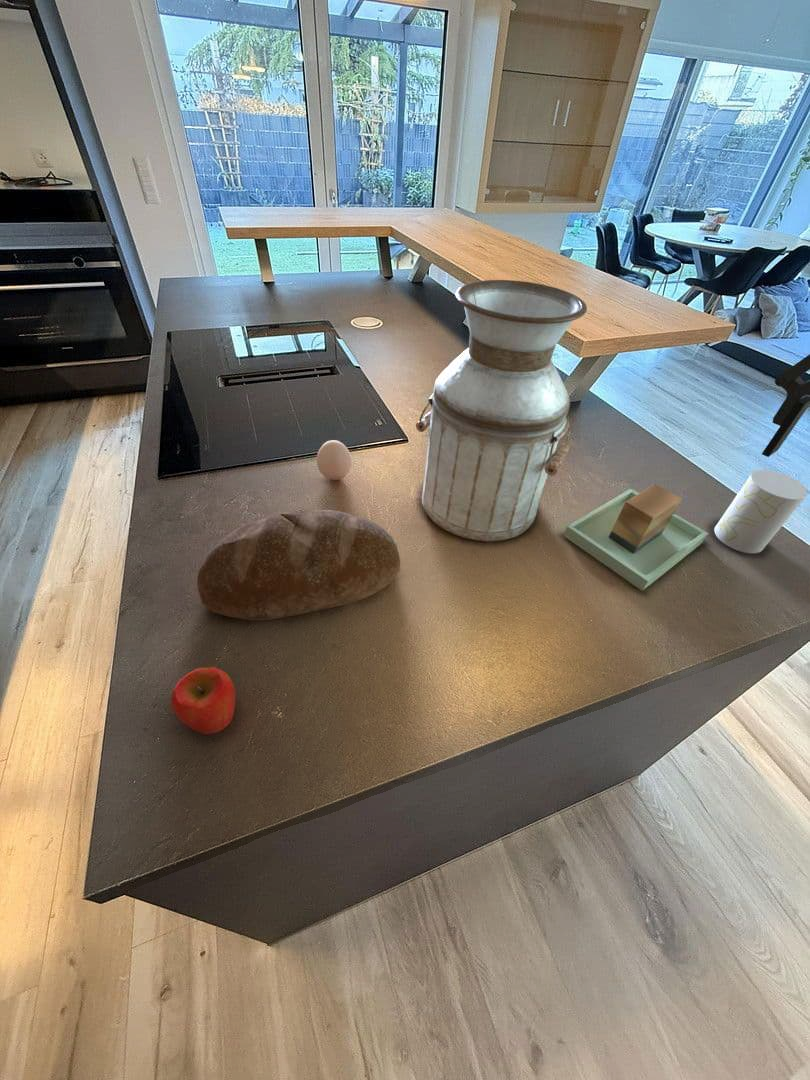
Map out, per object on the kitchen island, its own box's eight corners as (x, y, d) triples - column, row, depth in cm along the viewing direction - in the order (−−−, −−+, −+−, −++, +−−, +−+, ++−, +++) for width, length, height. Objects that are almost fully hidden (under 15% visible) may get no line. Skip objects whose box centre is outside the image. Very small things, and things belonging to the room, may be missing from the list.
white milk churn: (558, 496, 90) (628, 297, 65) (521, 563, 76) (593, 341, 51) (444, 456, 98) (469, 266, 74) (392, 510, 84) (402, 297, 60)
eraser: (661, 533, 82) (682, 498, 77) (633, 554, 78) (653, 517, 72) (636, 518, 85) (655, 483, 79) (608, 537, 81) (625, 501, 75)
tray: (702, 542, 82) (708, 533, 80) (642, 591, 73) (648, 581, 71) (625, 497, 91) (630, 488, 89) (563, 535, 81) (567, 526, 80)
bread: (204, 562, 72) (184, 506, 65) (384, 532, 80) (385, 479, 72) (203, 644, 62) (179, 588, 54) (411, 601, 69) (417, 546, 61)
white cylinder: (704, 524, 86) (740, 471, 78) (742, 521, 87) (780, 468, 79) (735, 555, 80) (776, 501, 72) (774, 551, 81) (819, 497, 73)
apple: (228, 684, 58) (214, 650, 52) (252, 721, 54) (239, 689, 49) (178, 715, 54) (158, 682, 49) (199, 756, 51) (180, 725, 46)
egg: (313, 471, 92) (310, 436, 86) (345, 464, 94) (344, 430, 89) (324, 490, 88) (321, 454, 82) (357, 482, 90) (356, 447, 84)
